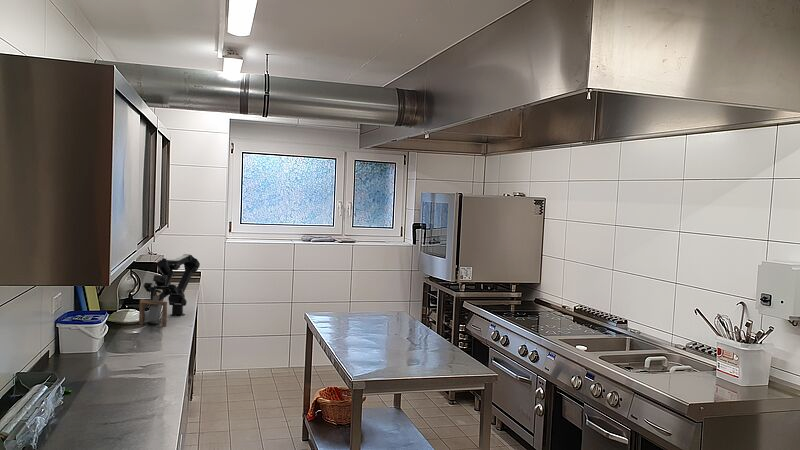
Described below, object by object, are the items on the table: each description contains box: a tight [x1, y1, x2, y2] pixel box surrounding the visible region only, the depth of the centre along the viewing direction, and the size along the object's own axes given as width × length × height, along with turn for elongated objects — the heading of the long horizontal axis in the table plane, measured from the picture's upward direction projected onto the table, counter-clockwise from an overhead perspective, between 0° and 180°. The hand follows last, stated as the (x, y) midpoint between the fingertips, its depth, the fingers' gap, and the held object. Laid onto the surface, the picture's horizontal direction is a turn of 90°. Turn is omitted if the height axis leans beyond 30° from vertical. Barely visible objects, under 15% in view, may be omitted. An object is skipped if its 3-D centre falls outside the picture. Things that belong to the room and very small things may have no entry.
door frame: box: [138, 298, 168, 328], centre depth 334 cm, size 2×16×14 cm, turn 76°
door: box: [144, 309, 150, 324], centre depth 343 cm, size 12×1×6 cm, turn 166°
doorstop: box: [145, 291, 165, 324], centre depth 339 cm, size 6×6×17 cm
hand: (155, 300), depth 337 cm, fingers closed on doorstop, 4 cm apart
